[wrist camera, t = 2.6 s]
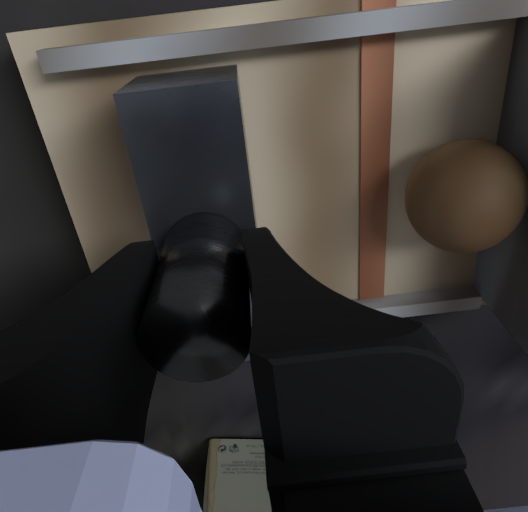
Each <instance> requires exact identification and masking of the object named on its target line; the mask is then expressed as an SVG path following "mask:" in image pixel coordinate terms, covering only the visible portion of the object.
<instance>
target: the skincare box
mask: <svg viewBox="0 0 528 512" xmlns="http://www.w3.org/2000/svg"><path fill="white" fill-rule="evenodd" d="M203 512H272V509H271V503H270V497H269V491H268V490H267V482H266V467H265V451H264V443H263V440H262V439H210V441H209V449H208V457H207V466H206V477H205V490H204V505H203Z"/></svg>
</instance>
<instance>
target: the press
mask: <svg viewBox="0 0 528 512" xmlns="http://www.w3.org/2000/svg"><path fill="white" fill-rule="evenodd" d="M6 35H7V38H8V41H9V44H10V47H11V49H12V52H13V55H14V58H15V61H16V63H17V66H18V69H19V72H20V75H21V77H22V80H23V83H24V86H25V89H26V91H27V94H28V97H29V100H30V103H31V105H32V108H33V111H34V114H35V116H36V119H37V122H38V125H39V128H40V130H41V133H42V136H43V139H44V142H45V144H46V147H47V150H48V153H49V156H50V158H51V161H52V164H53V167H54V170H55V172H56V175H57V178H58V181H59V184H60V186H61V189H62V192H63V195H64V198H65V200H66V203H67V206H68V209H69V212H70V214H71V217H72V220H73V223H74V226H75V228H76V231H77V234H78V237H79V240H80V242H81V245H82V248H83V251H84V254H85V256H86V259H87V262H88V265H89V268H90V270H91V273H92V272H94V271H95V270H96V269H97V268H99V267H100V266H101V265H102V264H104V263H105V262H106V261H107V260H108V259H110V258H111V257H112V256H113V255H115V254H116V253H117V252H118V251H120V250H121V249H122V248H124V247H125V246H127V245H128V244H130V243H132V242H140V241H149V240H151V237H150V233H149V229H148V225H147V222H146V218H145V214H144V210H143V206H142V203H141V199H140V195H139V191H138V187H137V184H136V180H135V176H134V172H133V169H132V165H131V161H130V157H129V153H128V150H127V146H126V142H125V138H124V134H123V131H122V127H121V123H120V119H119V115H118V112H117V108H116V104H115V100H114V97H113V94H114V93H115V92H117V91H118V90H119V89H121V88H122V87H123V86H125V85H126V84H127V83H129V82H130V81H131V80H133V79H134V78H135V77H137V76H142V75H150V74H158V73H167V72H175V71H184V70H192V69H201V68H209V67H217V66H226V65H234V64H237V69H238V77H239V85H240V93H241V101H242V109H243V117H244V125H245V133H246V141H247V149H248V157H249V166H250V174H251V182H252V190H253V198H254V206H255V214H256V222H257V228H260V227H267V228H268V229H269V230H270V231H271V233H272V235H273V236H274V238H275V239H276V241H277V242H278V243H279V244H280V246H281V247H282V248H283V249H284V250H285V252H286V253H287V254H288V255H289V256H290V257H291V258H292V259H293V260H294V261H295V262H296V263H297V264H298V265H299V266H300V267H301V268H303V269H304V270H305V271H306V272H307V273H308V274H310V275H311V276H312V277H313V278H315V279H316V280H318V281H319V282H320V283H322V284H323V285H325V286H327V287H328V288H330V289H332V290H333V291H335V292H337V293H339V294H341V295H343V296H345V297H347V298H349V299H351V300H353V301H355V302H358V303H360V304H362V305H365V306H367V307H370V308H373V309H375V310H378V311H381V312H384V313H387V314H390V315H394V316H398V317H401V318H404V317H413V316H421V315H430V314H439V313H447V312H456V311H465V310H473V309H480V305H487V306H488V307H489V308H490V309H491V311H492V312H493V313H494V314H495V315H496V317H497V318H498V319H499V320H500V322H501V323H502V324H503V325H504V326H505V328H506V329H507V330H508V331H509V332H510V334H511V335H512V336H513V337H514V338H515V340H516V341H517V342H518V343H519V345H520V346H521V347H522V348H523V349H524V351H525V352H526V353H527V354H528V0H277V1H269V2H260V3H252V4H244V5H235V6H227V7H219V8H210V9H202V10H193V11H185V12H177V13H168V14H160V15H152V16H143V17H135V18H126V19H118V20H110V21H101V22H93V23H84V24H76V25H68V26H59V27H51V28H43V29H34V30H27V31H20V32H12V33H6Z"/></svg>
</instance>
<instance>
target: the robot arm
mask: <svg viewBox="0 0 528 512" xmlns="http://www.w3.org/2000/svg"><path fill="white" fill-rule="evenodd" d="M242 239H243V246H244V253H245V260H246V267H247V274H248V280H249V287H250V294H251V301H252V327H251V340H250V350H249V355H250V362H251V368H252V374H253V380H254V387H255V393H256V399H257V405H258V412H259V418H260V424H261V430H262V437H263V443H264V451H265V467H266V482H267V490H268V491H269V497H270V503H271V509H272V512H528V505H526V506H517V507H508V508H499V509H491V510H483V509H482V507H481V504H480V502H479V500H478V498H477V496H476V494H475V492H474V490H473V488H472V486H471V484H470V482H469V480H468V478H467V476H466V474H465V472H464V469H466V459H465V456H464V454H463V452H462V450H461V448H460V446H459V444H458V442H457V434H458V429H459V423H460V418H461V412H462V407H463V401H464V385H463V382H462V380H461V378H460V375H459V373H458V371H457V369H456V367H455V366H454V364H453V362H452V361H451V359H450V357H449V356H448V354H447V353H446V352H445V350H444V349H443V348H442V346H441V345H440V343H439V342H438V341H437V340H436V338H435V337H434V336H433V335H432V334H431V332H430V331H429V330H428V329H427V327H426V326H425V325H424V324H423V323H420V322H416V321H413V320H409V319H405V318H401V317H398V316H394V315H390V314H387V313H384V312H381V311H378V310H375V309H373V308H370V307H367V306H365V305H362V304H360V303H358V302H355V301H353V300H351V299H349V298H347V297H345V296H343V295H341V294H339V293H337V292H335V291H333V290H332V289H330V288H328V287H327V286H325V285H323V284H322V283H320V282H319V281H318V280H316V279H315V278H313V277H312V276H311V275H310V274H308V273H307V272H306V271H305V270H304V269H303V268H301V267H300V266H299V265H298V264H297V263H296V262H295V261H294V260H293V259H292V258H291V257H290V256H289V255H288V254H287V253H286V252H285V250H284V249H283V248H282V247H281V246H280V244H279V243H278V242H277V241H276V239H275V238H274V236H273V235H272V233H271V231H270V230H269V229H268V228H267V227H260V228H251V229H243V236H242ZM158 263H159V258H158V255H157V251H156V247H155V243H154V240H149V241H140V242H132V243H130V244H128V245H127V246H125V247H124V248H122V249H121V250H120V251H118V252H117V253H116V254H115V255H113V256H112V257H111V258H110V259H108V260H107V261H106V262H105V263H104V264H102V265H101V266H100V267H99V268H97V269H96V270H95V271H94V272H92V273H91V274H90V275H89V276H87V277H86V278H85V279H83V280H82V281H81V282H79V283H78V284H77V285H75V286H74V287H72V288H71V289H70V290H68V291H67V292H66V293H64V294H63V295H62V296H60V297H59V298H57V299H56V300H54V301H53V302H51V303H50V304H48V305H47V306H45V307H44V308H42V309H40V310H39V311H37V312H35V313H34V314H32V315H30V316H29V317H27V318H25V319H23V320H22V321H20V322H18V323H16V324H14V325H12V326H10V327H8V328H6V329H4V330H2V331H0V512H202V510H201V508H200V505H199V502H198V499H197V496H196V492H195V489H194V486H193V483H192V481H191V480H190V479H189V477H188V476H187V475H186V474H185V472H184V471H183V470H182V469H181V467H180V466H179V465H178V464H177V462H176V461H175V460H174V459H173V458H172V457H170V456H169V455H167V454H164V453H162V452H160V451H157V450H155V449H153V448H150V447H148V446H146V445H143V442H144V434H145V426H146V419H147V413H148V408H149V403H150V398H151V394H152V390H153V386H154V382H155V378H156V374H157V370H156V369H155V368H154V367H153V366H151V365H150V364H149V363H148V361H147V360H146V359H145V358H144V356H143V354H142V353H141V350H140V348H139V344H138V330H139V326H140V323H141V320H142V316H143V313H144V310H145V306H146V303H147V300H148V296H149V293H150V290H151V286H152V283H153V280H154V276H155V273H156V270H157V266H158Z"/></svg>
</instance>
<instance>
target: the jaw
mask: <svg viewBox="0 0 528 512" xmlns="http://www.w3.org/2000/svg"><path fill="white" fill-rule="evenodd" d="M113 97H114V100H115V104H116V108H117V112H118V115H119V119H120V123H121V127H122V131H123V134H124V138H125V142H126V146H127V150H128V153H129V157H130V161H131V165H132V169H133V172H134V176H135V180H136V184H137V187H138V191H139V195H140V199H141V203H142V206H143V210H144V214H145V218H146V222H147V225H148V229H149V233H150V237H151V240H154V243H155V247H156V251H157V255H158V258H159V263H158V266H157V270H156V273H155V276H154V280H153V283H152V286H151V290H150V293H149V296H148V300H147V303H146V306H145V310H144V313H143V316H142V320H141V323H140V326H139V330H138V344H139V348H140V350H141V353H142V354H143V356H144V358H145V359H146V360H147V361H148V363H149V364H150V365H151V366H153V367H154V368H155V369H156V370H158V371H159V372H161V373H163V374H165V375H167V376H169V377H172V378H175V379H178V380H183V381H190V382H203V381H210V380H215V379H218V378H221V377H224V376H226V375H228V374H230V373H231V372H233V371H234V370H236V369H237V368H238V367H239V366H240V365H241V364H242V363H243V362H244V361H250V355H249V350H250V340H251V327H252V301H251V294H250V287H249V280H248V274H247V267H246V260H245V253H244V246H243V239H242V236H243V229H251V228H257V222H256V214H255V206H254V198H253V190H252V182H251V174H250V166H249V157H248V149H247V141H246V133H245V125H244V117H243V109H242V101H241V93H240V85H239V77H238V69H237V64H234V65H226V66H217V67H209V68H201V69H192V70H184V71H175V72H167V73H158V74H150V75H142V76H137V77H135V78H134V79H133V80H131V81H130V82H129V83H127V84H126V85H125V86H123V87H122V88H121V89H119V90H118V91H117V92H115V93H114V94H113Z"/></svg>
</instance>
